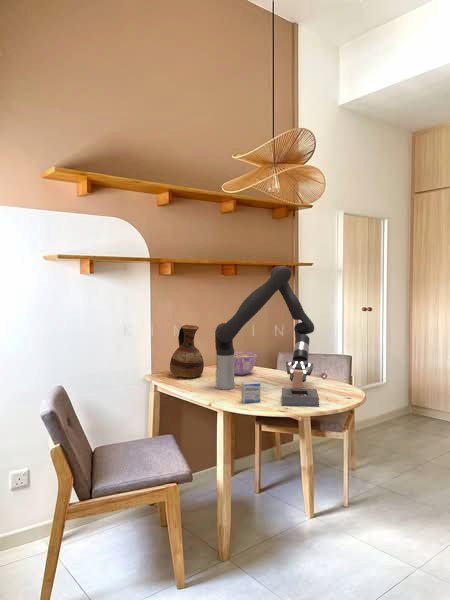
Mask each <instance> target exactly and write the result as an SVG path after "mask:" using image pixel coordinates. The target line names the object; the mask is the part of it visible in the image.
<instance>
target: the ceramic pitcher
mask: <svg viewBox="0 0 450 600" xmlns="http://www.w3.org/2000/svg"><path fill="white" fill-rule="evenodd" d="M199 329H200V326H197V325H194V324H193V325H192V324H185V325H180V329H179V331H178V337H177V338H178V339H177V340H178V348H177V349H176V350H175V351H174V352H173V354H172V356H171V358H170V362H169V370H170V373H171V374H172V375H174V376H176V377H179V378H189V379H191V378H196V377H199V376H201V375H202V374H203V373H204V368H205V366H204V365H205V364H204V358H203V357H204V356H203V355H202V353H201V351H200V349H198V348H197V347H196V346H195V336H196V333H197V331H198V330H199Z"/></svg>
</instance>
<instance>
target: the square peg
mask: <svg viewBox="0 0 450 600" xmlns="http://www.w3.org/2000/svg"><path fill="white" fill-rule="evenodd" d="M303 374H304V373H303V370H293V382H292V388H301V389H304V388H303V387H304V386H303V383H304V382H303V381H302V380H303Z"/></svg>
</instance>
